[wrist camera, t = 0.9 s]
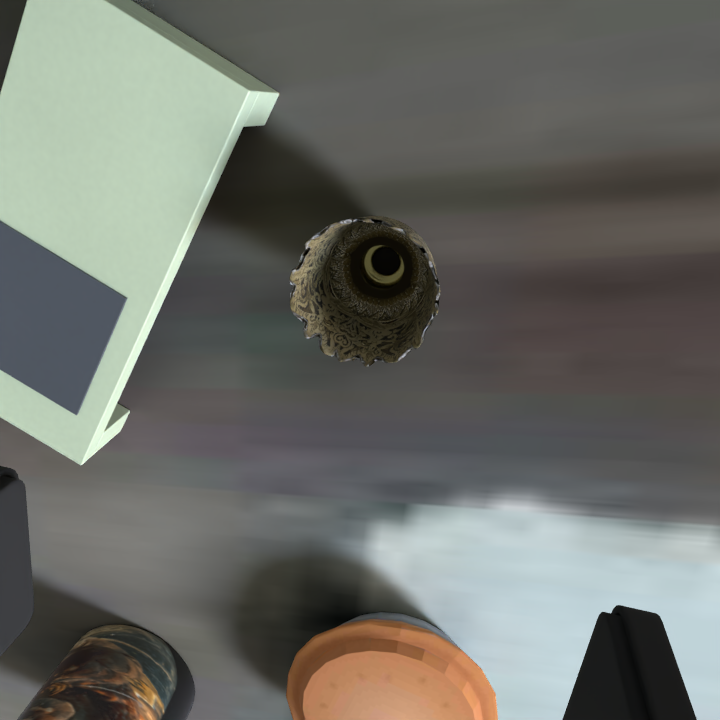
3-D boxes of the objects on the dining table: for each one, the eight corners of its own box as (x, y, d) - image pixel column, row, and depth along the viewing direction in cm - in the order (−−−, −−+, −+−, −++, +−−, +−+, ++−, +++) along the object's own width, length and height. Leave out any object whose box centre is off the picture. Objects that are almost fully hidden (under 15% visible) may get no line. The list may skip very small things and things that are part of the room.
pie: (356, 758, 54) (343, 818, 50) (263, 618, 51) (241, 669, 46) (531, 720, 49) (535, 783, 45) (443, 562, 46) (438, 613, 41)
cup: (407, 342, 40) (389, 394, 33) (305, 281, 40) (264, 320, 33) (472, 239, 37) (468, 271, 30) (362, 173, 37) (331, 189, 30)
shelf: (95, -23, 36) (35, -43, 31) (280, 93, 36) (248, 90, 32) (-24, 344, 46) (-83, 371, 42) (120, 431, 47) (79, 467, 42)
